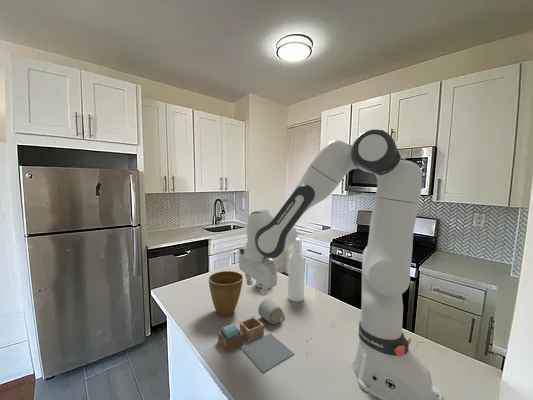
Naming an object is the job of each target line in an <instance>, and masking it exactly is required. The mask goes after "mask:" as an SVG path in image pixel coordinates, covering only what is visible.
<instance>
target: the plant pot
mask: <svg viewBox="0 0 533 400" xmlns="http://www.w3.org/2000/svg"><path fill="white" fill-rule="evenodd" d="M243 281H244V276H243V274H242V273H240V272H239V271H238V272H237V271H232V270H231V271H230V270H225V271H224V270H223V271H219V272H214V273H212V274H211V275H210V276H208V284H209V291H210V297H211V300H212V304H213V306H214V309H215V312H216V314H217V315H218V316H219V317H223V318H227V317H230V316H232V315H233V314H234V313H235V310H236V309H237V308H236V307H237V305H238V302H239V299H240V296H241V291H242V286H243Z"/></svg>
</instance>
